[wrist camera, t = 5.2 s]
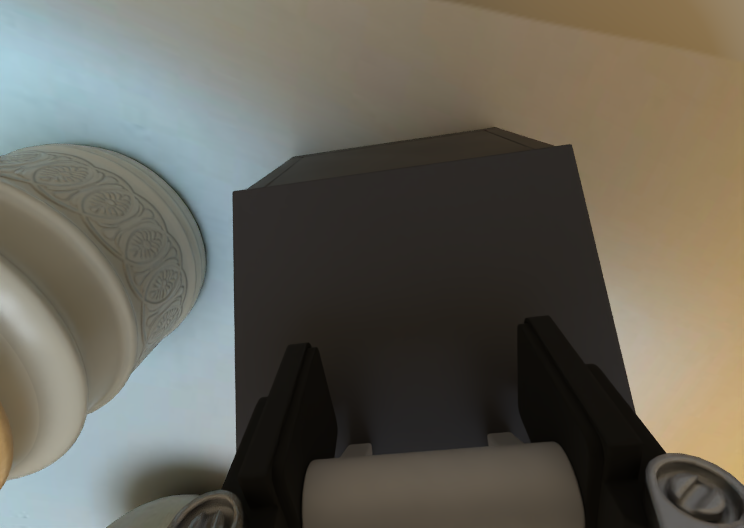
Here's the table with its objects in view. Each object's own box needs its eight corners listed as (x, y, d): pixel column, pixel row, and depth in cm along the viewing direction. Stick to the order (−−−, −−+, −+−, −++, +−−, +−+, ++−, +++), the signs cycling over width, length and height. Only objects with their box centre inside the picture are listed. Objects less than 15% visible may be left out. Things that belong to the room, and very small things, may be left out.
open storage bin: (499, 295, 26) (550, 387, 18) (326, 314, 27) (301, 409, 19) (496, 127, 22) (562, 147, 14) (292, 156, 23) (240, 192, 15)
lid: (648, 524, 11) (848, 673, 6) (248, 547, 12) (124, 691, 7) (563, 154, 14) (651, 37, 8) (241, 199, 15) (148, 117, 9)
